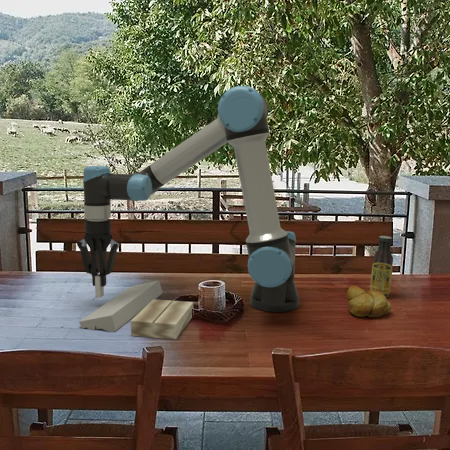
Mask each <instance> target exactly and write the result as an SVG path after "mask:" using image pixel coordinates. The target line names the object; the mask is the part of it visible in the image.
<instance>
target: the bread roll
mask: <svg viewBox="0 0 450 450" xmlns="http://www.w3.org/2000/svg"><path fill="white" fill-rule="evenodd" d="M346 299H347V301H348V302H347V303H348V311H349V312H350V313H351V314H352V315H353V316H355V317H360V318H361V317H363V318H364V317H366V316H367V317H369V318H377V317H382V316H385V315H388V313H390V312H391V310H392V305H391V302H389V301H388V300H387V298H386V297H385V296H384V295H383V294H382V293H380V292H378V291H374V290H370V289H369V290H367V291H366V290H364V289H363V288H361V287H359V286H357V285H355V284H354V285H349V286H348V289H347V292H346Z"/></svg>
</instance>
